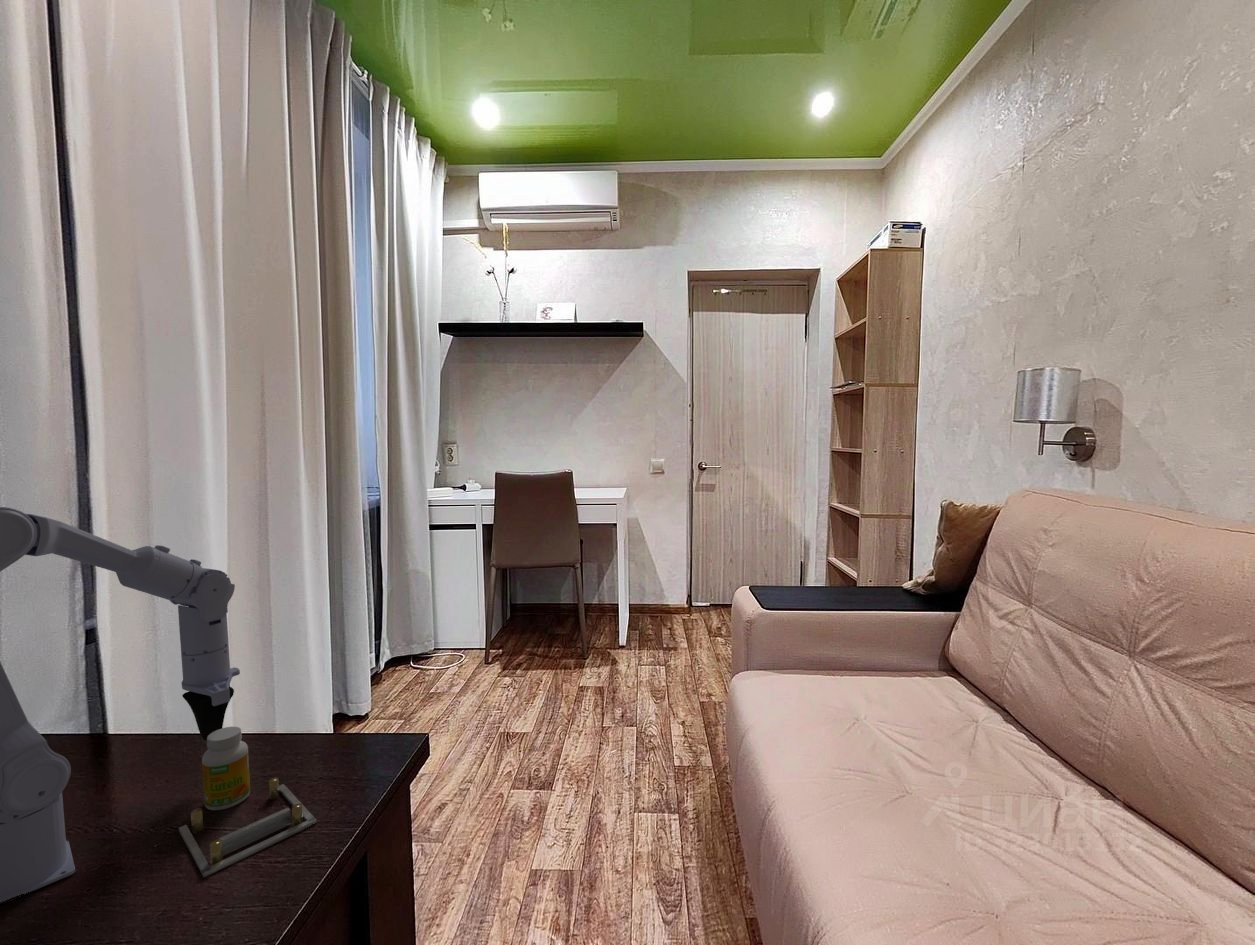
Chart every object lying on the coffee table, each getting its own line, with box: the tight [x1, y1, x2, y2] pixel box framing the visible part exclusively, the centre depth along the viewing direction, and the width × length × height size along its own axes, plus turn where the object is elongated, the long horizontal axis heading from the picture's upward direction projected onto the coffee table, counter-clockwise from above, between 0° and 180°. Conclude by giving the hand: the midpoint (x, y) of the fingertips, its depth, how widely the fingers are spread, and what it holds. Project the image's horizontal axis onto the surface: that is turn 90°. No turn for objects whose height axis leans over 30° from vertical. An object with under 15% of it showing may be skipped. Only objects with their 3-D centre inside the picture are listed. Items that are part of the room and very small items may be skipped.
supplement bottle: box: [201, 726, 251, 811], centre depth 82 cm, size 5×5×10 cm
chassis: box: [178, 777, 317, 878], centre depth 76 cm, size 12×12×2 cm
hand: (211, 736), depth 87 cm, fingers closed
